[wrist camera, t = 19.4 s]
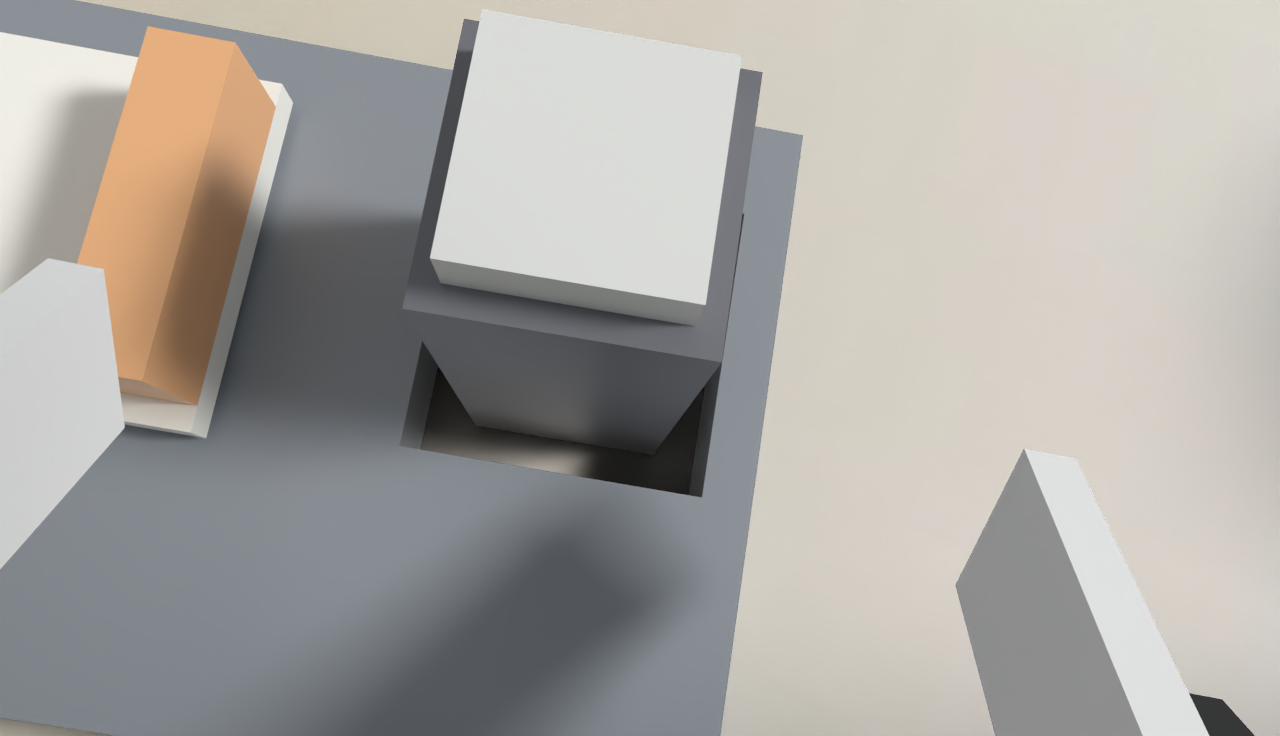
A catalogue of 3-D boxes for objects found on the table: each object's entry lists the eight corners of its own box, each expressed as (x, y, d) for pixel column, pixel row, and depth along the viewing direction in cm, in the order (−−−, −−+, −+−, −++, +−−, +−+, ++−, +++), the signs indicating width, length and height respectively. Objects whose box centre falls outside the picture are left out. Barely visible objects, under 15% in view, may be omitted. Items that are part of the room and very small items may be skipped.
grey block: (679, 285, 23) (778, 32, 12) (653, 454, 22) (735, 344, 11) (508, 256, 23) (455, -27, 12) (476, 426, 22) (387, 285, 11)
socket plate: (778, 180, 24) (802, 135, 21) (690, 798, 21) (707, 829, 18) (63, 49, 23) (3, -14, 20) (-133, 667, 20) (-231, 681, 18)
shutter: (292, 102, 20) (242, 16, 17) (206, 438, 19) (133, 411, 15) (-54, 38, 20) (-170, -61, 17) (-170, 374, 18) (-322, 334, 15)
